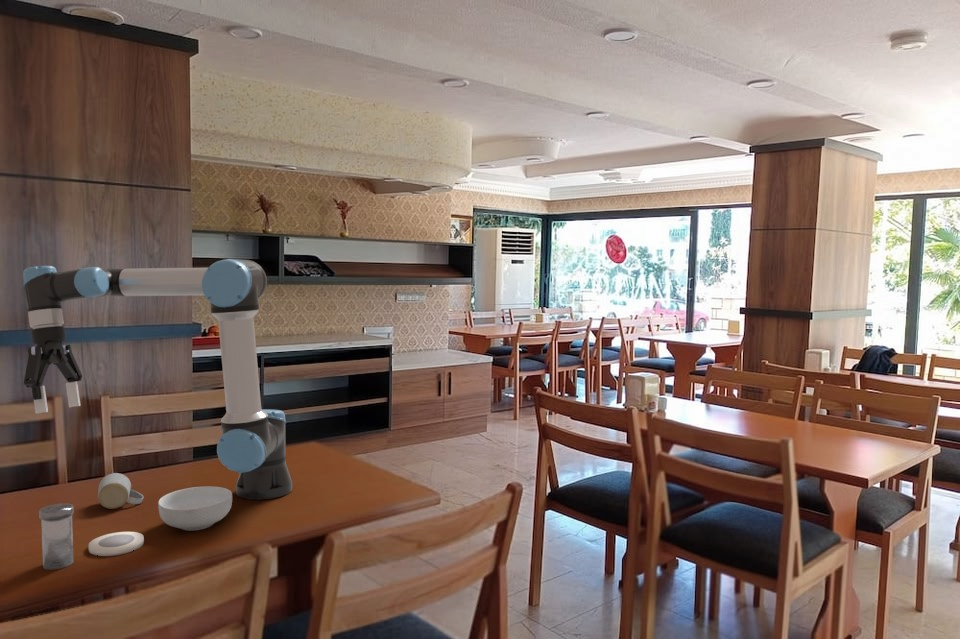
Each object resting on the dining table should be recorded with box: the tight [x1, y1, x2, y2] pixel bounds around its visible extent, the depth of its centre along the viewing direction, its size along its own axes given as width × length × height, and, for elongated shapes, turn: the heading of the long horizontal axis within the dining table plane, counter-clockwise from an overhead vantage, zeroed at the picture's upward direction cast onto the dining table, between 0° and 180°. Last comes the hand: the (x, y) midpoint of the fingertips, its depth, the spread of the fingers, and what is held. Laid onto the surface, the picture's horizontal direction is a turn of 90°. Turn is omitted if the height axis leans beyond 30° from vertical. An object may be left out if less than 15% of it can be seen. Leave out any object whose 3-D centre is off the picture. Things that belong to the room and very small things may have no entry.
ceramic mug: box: [97, 472, 145, 510], centre depth 186 cm, size 11×8×8 cm
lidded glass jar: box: [38, 503, 75, 571], centre depth 149 cm, size 6×6×12 cm
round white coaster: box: [88, 531, 145, 557], centre depth 159 cm, size 11×11×1 cm
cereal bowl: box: [157, 485, 233, 532], centre depth 172 cm, size 17×17×7 cm
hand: (59, 409), depth 180 cm, fingers open, 13 cm apart
